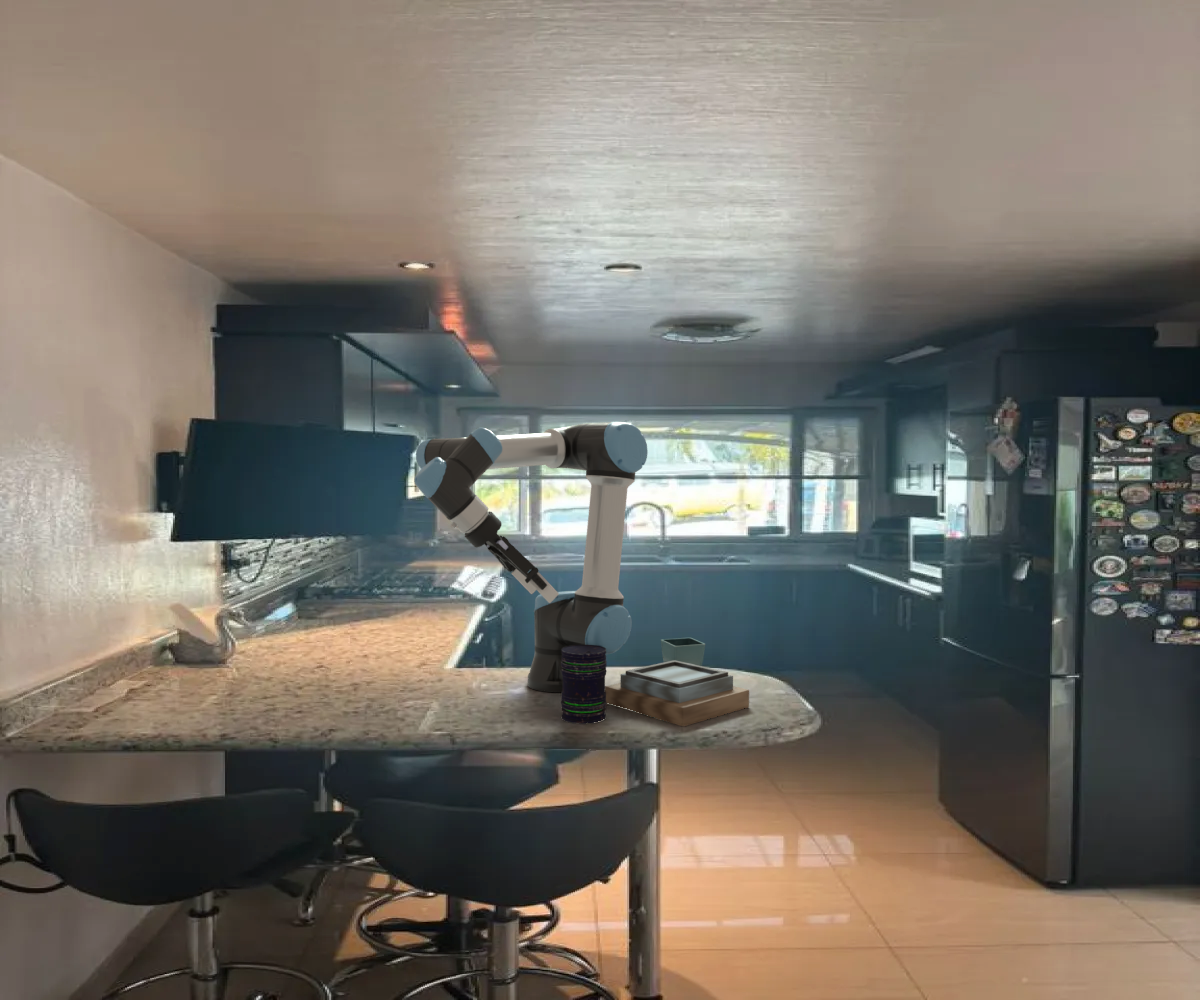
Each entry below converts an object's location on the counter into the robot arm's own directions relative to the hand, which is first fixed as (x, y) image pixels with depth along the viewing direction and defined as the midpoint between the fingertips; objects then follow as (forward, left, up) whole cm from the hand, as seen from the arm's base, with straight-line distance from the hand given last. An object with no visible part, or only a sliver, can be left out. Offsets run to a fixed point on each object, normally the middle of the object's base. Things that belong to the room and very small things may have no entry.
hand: (544, 594), depth 197 cm
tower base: (+10, +30, -27) cm, 42 cm away
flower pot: (-8, +52, -28) cm, 59 cm away
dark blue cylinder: (+3, +8, -27) cm, 29 cm away
